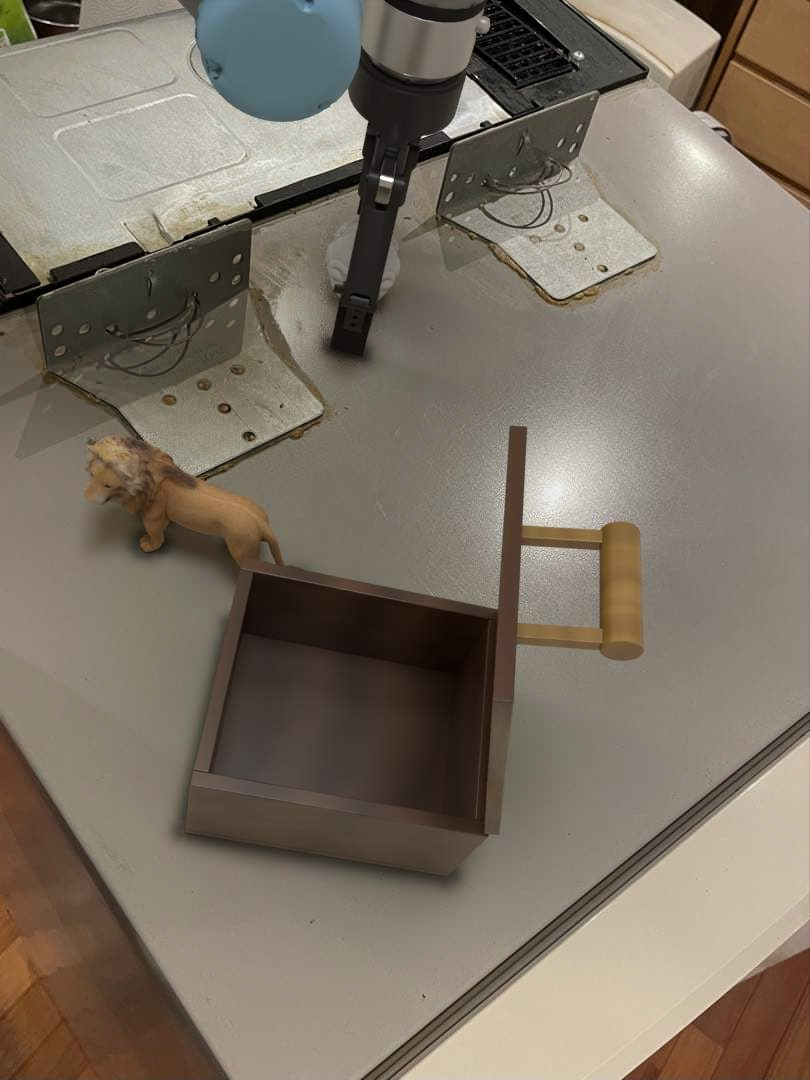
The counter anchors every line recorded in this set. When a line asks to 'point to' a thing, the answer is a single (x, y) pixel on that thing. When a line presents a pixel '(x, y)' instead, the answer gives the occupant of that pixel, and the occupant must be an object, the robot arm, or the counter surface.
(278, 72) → the robot arm
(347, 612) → the chest
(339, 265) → the frog figurine
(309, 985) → the counter surface
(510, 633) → the chest lid
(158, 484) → the lion figurine
